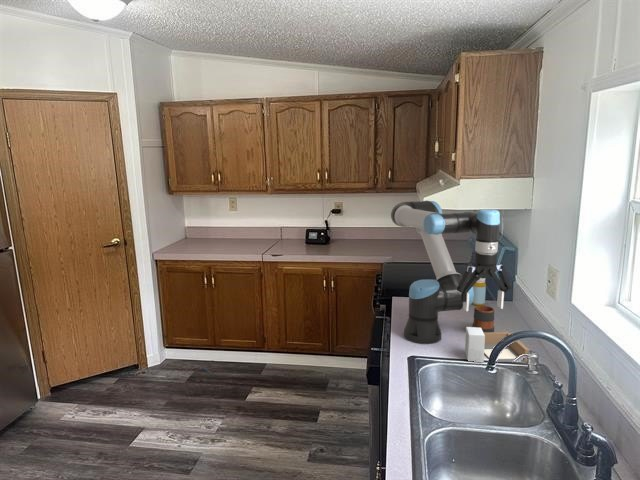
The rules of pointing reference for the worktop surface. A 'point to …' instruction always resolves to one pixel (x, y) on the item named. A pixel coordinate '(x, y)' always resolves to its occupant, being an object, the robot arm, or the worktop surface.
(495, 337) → the brown piece
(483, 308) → the mug
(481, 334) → the small box
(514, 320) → the worktop surface
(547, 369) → the worktop surface
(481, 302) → the bottle
